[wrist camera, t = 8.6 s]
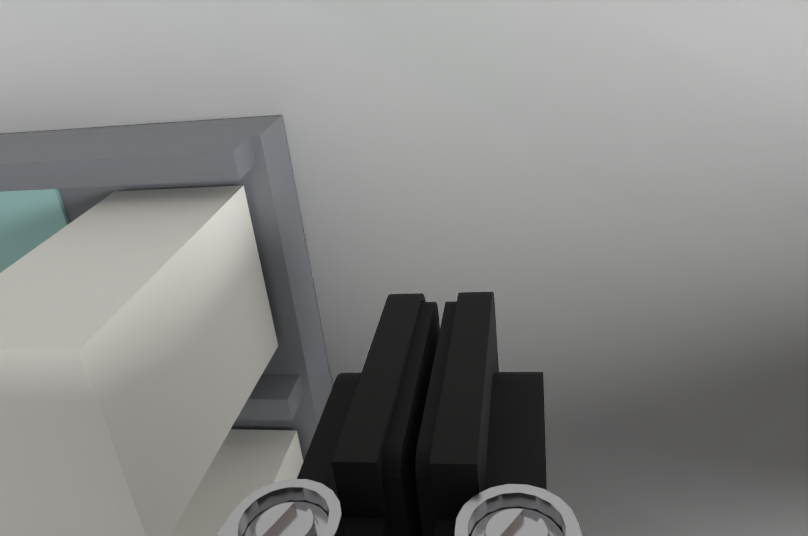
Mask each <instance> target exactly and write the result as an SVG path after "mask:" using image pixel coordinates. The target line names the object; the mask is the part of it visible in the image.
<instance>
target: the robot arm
mask: <svg viewBox="0 0 808 536" xmlns="http://www.w3.org/2000/svg"><path fill="white" fill-rule="evenodd" d="M216 536H582V533H581V530H580V526H579V523H578V521H577V519H576V517H575V515H574V513H573V511H572V509H571V508H570V507H569V506H568V505H567V504H566V503H565V502H564V501H563V500H562V499H561V498H560V497H558V496H556V495H554V494H553V493H551V492H549V491H547V488H546V455H545V422H544V389H543V372H499V368H498V352H497V336H496V319H495V304H494V294H493V292H467V293H459V294H458V299H457V302H446V303H445V307H444V313H443V318H442V323H441V328H440V325H439V315H438V307H437V303H436V302H425V297H424V295H423V294H390V295H389V296H388V297H387V300H386V303H385V306H384V309H383V312H382V315H381V318H380V321H379V324H378V327H377V330H376V333H375V335H374V338H373V341H372V344H371V347H370V350H369V353H368V356H367V359H366V362H365V365H364V368H363V370H362V373H341V374H339V375H338V376H337V378H336V380H335V382H334V385H333V387H332V390H331V392H330V395H329V398H328V400H327V403H326V405H325V408H324V410H323V413H322V415H321V418H320V421H319V423H318V426H317V428H316V431H315V433H314V436H313V438H312V441H311V444H310V446H309V449H308V451H307V454H306V456H305V459H304V461H303V464H302V467H301V469H300V472H299V474H298V477H297V479H288V480H283V481H278V482H273V483H271V484H269V485H266V486H264V487H262V488H259V489H257V490H256V491H254V492H253V493H252V494H250V495H249V496H247V497H246V498H244V499H243V500H242V501H241V502H240V504H239V505H238V506H237V507H236V508H235V509H234V510H233V511H232V513H231V514H230V516H229V517H228V519H227V520H226V522H225V523H224V525H223V526H222V528H221V529H220V531H219V532H218V534H217V535H216Z"/></svg>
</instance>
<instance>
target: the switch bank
mask: <svg viewBox="0 0 808 536" xmlns="http://www.w3.org/2000/svg"><path fill="white" fill-rule="evenodd" d="M239 185H244V190H245V194H246V199H247V203H248V208H249V213H250V217H251V222H252V227H253V231H254V236H255V240H256V245H257V250H258V254H259V259H260V263H261V268H262V273H263V277H264V282H265V287H266V291H267V296H268V300H269V305H270V310H271V314H272V319H273V324H274V328H275V333H276V337H277V342H278V347H277V349H276V351H275V353H274V354H273V356H272V358H271V360H270V361H269V363H268V365H267V367H266V368H265V370H264V372H263V373H262V375H261V377H260V379H259V380H258V382H257V384H256V386H255V387H254V389H253V391H252V393H251V394H250V396H249V398H248V400H247V401H246V403H245V405H244V407H243V408H242V410H241V412H240V414H239V415H238V417H237V419H236V421H235V422H234V424H233V426H232V428H231V429H245V430H293V431H297V434H298V439H299V444H300V448H301V453H302V458H303V461H304V459H305V456H306V454H307V451H308V449H309V446H310V444H311V441H312V438H313V436H314V433H315V431H316V428H317V426H318V423H319V421H320V418H321V415H322V413H323V410H324V408H325V405H326V403H327V400H328V398H329V395H330V392H331V390H332V383H331V377H330V372H329V366H328V361H327V356H326V350H325V345H324V339H323V334H322V328H321V323H320V317H319V312H318V307H317V301H316V296H315V290H314V285H313V279H312V274H311V268H310V263H309V258H308V252H307V247H306V241H305V236H304V230H303V225H302V219H301V214H300V209H299V203H298V198H297V192H296V187H295V181H294V176H293V170H292V165H291V160H290V154H289V149H288V143H287V138H286V132H285V127H284V121H283V116H282V115H278V116H263V117H248V118H233V119H218V120H203V121H188V122H173V123H158V124H143V125H128V126H112V127H97V128H82V129H67V130H52V131H37V132H22V133H7V134H0V273H1V272H2V271H4V270H5V269H6V268H8V267H9V266H11V265H12V264H14V263H15V262H16V261H18V260H19V259H21V258H22V257H23V256H25V255H26V254H28V253H29V252H30V251H32V250H33V249H35V248H36V247H37V246H39V245H40V244H42V243H43V242H44V241H46V240H47V239H49V238H50V237H51V236H53V235H54V234H56V233H57V232H58V231H60V230H61V229H63V228H64V227H65V226H67V225H68V224H70V223H71V222H72V221H74V220H75V219H77V218H78V217H79V216H81V215H82V214H84V213H85V212H86V211H88V210H89V209H91V208H92V207H93V206H95V205H96V204H98V203H99V202H100V201H102V200H103V199H105V198H106V197H107V196H109V195H110V194H112V193H113V192H114V191H134V190H155V189H176V188H197V187H218V186H239Z"/></svg>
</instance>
